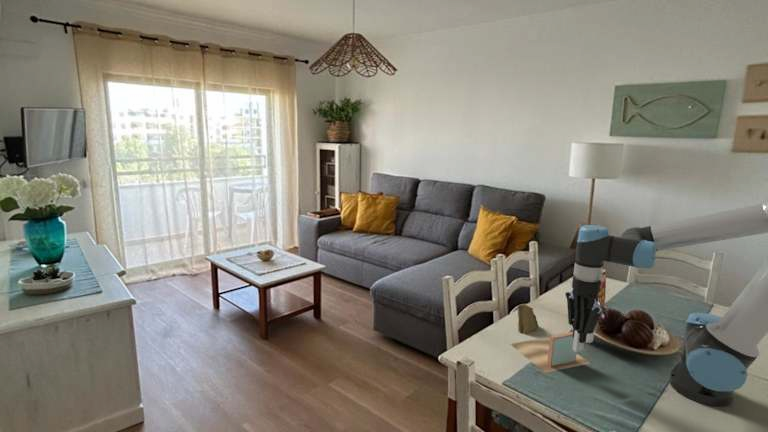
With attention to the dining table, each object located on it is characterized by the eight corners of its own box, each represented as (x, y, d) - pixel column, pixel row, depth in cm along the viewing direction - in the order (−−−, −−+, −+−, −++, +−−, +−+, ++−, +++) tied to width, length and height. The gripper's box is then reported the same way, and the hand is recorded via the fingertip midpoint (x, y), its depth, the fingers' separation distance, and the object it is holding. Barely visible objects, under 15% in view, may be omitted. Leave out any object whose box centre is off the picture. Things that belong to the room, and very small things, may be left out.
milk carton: (573, 305, 178) (578, 261, 174) (588, 302, 182) (594, 259, 178) (591, 314, 170) (598, 268, 166) (607, 310, 174) (613, 265, 170)
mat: (590, 364, 134) (590, 363, 134) (544, 374, 129) (544, 372, 129) (552, 337, 151) (552, 336, 151) (509, 345, 145) (510, 343, 145)
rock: (532, 314, 164) (509, 313, 162) (543, 304, 158) (520, 302, 156) (541, 340, 157) (517, 340, 155) (553, 330, 151) (529, 330, 148)
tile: (575, 361, 135) (579, 333, 133) (550, 366, 132) (553, 338, 130) (572, 359, 136) (575, 331, 134) (547, 364, 133) (550, 335, 131)
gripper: (615, 284, 117) (604, 359, 122) (580, 269, 129) (571, 338, 134) (594, 287, 115) (584, 363, 120) (560, 271, 127) (552, 341, 132)
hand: (577, 350), depth 127 cm, fingers closed
